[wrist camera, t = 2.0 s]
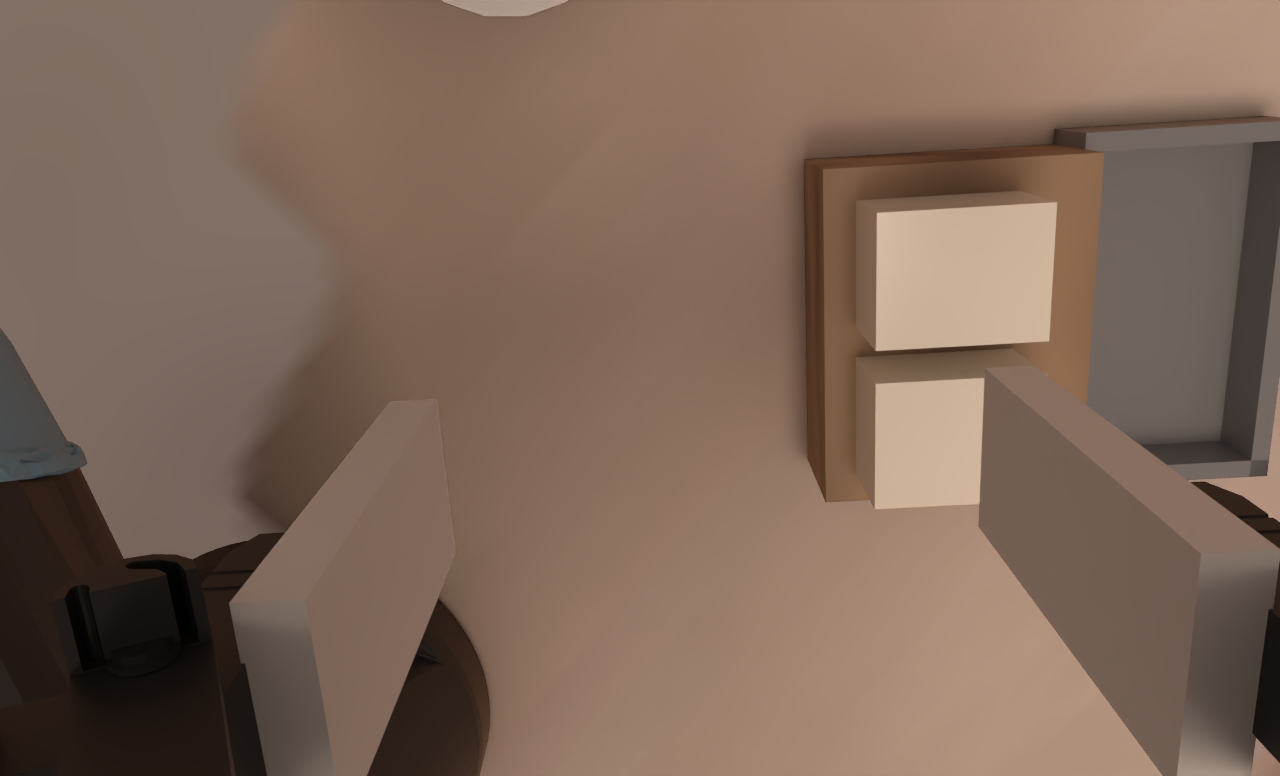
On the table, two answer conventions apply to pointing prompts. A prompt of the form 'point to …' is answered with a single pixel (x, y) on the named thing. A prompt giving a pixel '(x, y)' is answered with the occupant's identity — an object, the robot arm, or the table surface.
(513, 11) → the wineglass
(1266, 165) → the tray
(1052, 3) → the table surface
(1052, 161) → the board
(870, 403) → the beige block
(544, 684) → the table surface
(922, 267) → the beige block
